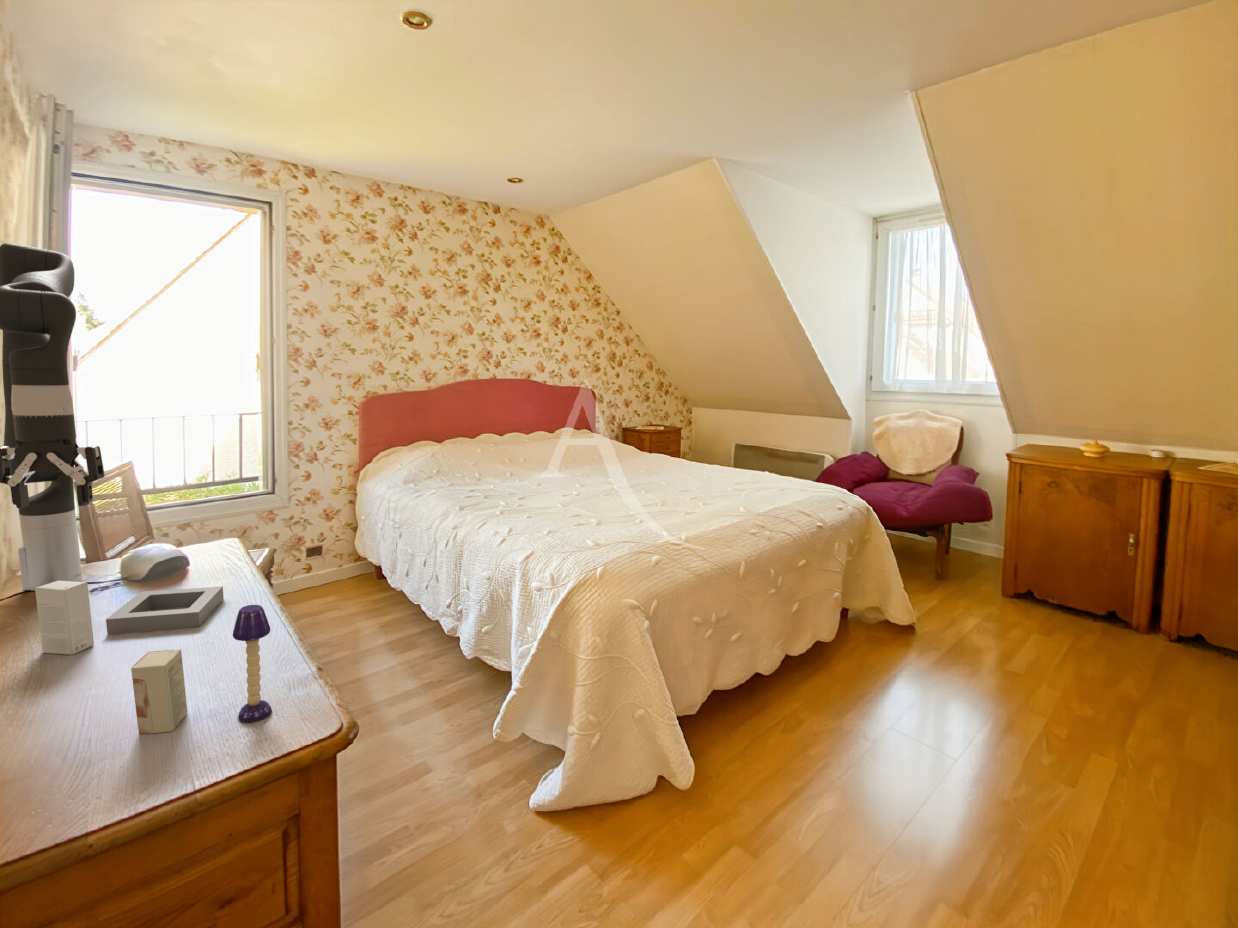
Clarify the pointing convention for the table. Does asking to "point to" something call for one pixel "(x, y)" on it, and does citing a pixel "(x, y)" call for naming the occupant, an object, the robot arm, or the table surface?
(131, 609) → the socket block
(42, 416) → the robot arm
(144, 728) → the skincare box
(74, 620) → the skincare box
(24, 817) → the table surface
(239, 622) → the toy lamp
